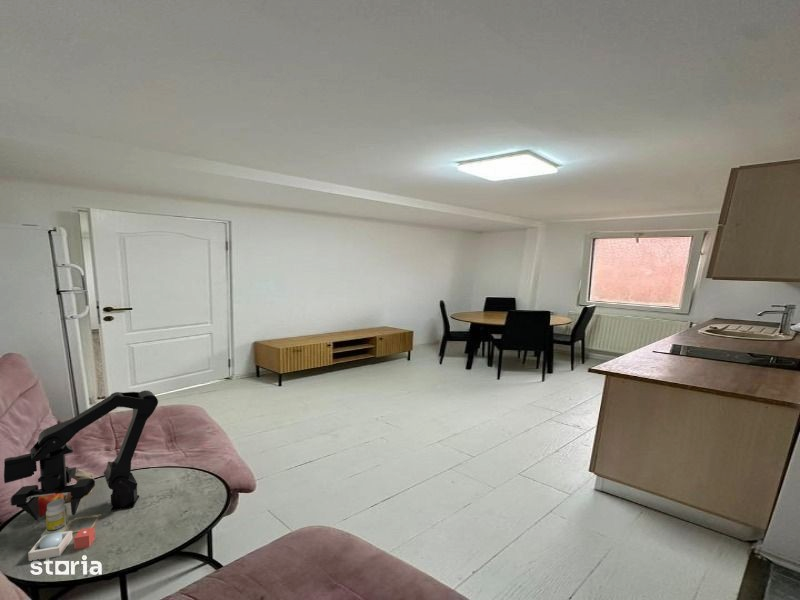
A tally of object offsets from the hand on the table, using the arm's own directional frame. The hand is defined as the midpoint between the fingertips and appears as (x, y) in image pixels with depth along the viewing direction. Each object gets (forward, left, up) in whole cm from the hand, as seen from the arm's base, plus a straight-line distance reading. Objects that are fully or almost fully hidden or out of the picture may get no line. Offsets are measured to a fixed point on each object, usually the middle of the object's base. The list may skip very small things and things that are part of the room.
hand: (56, 516), depth 115 cm
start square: (-7, 0, -4) cm, 8 cm away
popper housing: (-3, +9, -4) cm, 11 cm away
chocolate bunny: (+1, -17, -4) cm, 18 cm away
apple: (+7, -9, -4) cm, 12 cm away
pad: (0, 0, -4) cm, 4 cm away
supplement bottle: (0, 0, -4) cm, 4 cm away
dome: (-3, +10, -4) cm, 11 cm away
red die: (-11, +9, -4) cm, 15 cm away
